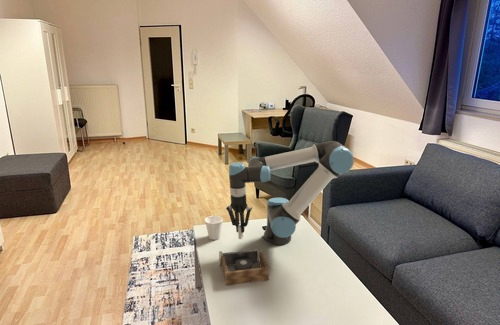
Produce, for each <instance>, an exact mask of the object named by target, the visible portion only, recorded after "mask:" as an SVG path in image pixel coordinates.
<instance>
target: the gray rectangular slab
mask: <svg viewBox="0 0 500 325" xmlns="http://www.w3.org/2000/svg"><path fill="white" fill-rule="evenodd" d="M258 253H259V252H258V249H248V250H239V251H232V252H231V251H229V252H223V251H219V252H218V256H219V257H218V258H219V266H220V267H222V256H224V257H225V262H226V266H232V265H233V266H235V261H236V260H237V259H239V258H248V259H250V260H251V261H252V263H257V262H258V263H259V254H258Z"/></svg>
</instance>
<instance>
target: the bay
mask: <svg viewBox="0 0 500 325" xmlns="http://www.w3.org/2000/svg"><path fill="white" fill-rule="evenodd" d="M258 253H259V254H258V263H259V265H260V266H259V267H255V268H252V269H246V270H238V271H235V270H231V271H228V267H227V266H228V265H226V262H225V257H224V256H222V266H221V270H222V274H223V279H224V283H225V286H231V285H232V286H233V285H240V284H247V283H253V282H254V283H255V282H262V281H269V280H270V279H269V278H270V276H269V274H270V268H269V266H268V263H267V261H266V258H265V256H264V254H263V251H259V252H258Z"/></svg>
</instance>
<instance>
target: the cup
mask: <svg viewBox="0 0 500 325" xmlns="http://www.w3.org/2000/svg"><path fill="white" fill-rule="evenodd" d="M223 221H224V219H223V217H222V216H220V215H210V216H207V217H205V218H204V222H205V226H206V230H207V236H208V238H209V239H210V240H212V241H215V240H216V241H217V240H219V239H220V237H221V233H222V226H223Z"/></svg>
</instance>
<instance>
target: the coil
mask: <svg viewBox="0 0 500 325" xmlns="http://www.w3.org/2000/svg"><path fill="white" fill-rule="evenodd" d="M246 269H253V262H252V261H251V260H250V259H248V258H239V259H237V260H236V261H235V264H234V271H238V270H246Z"/></svg>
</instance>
